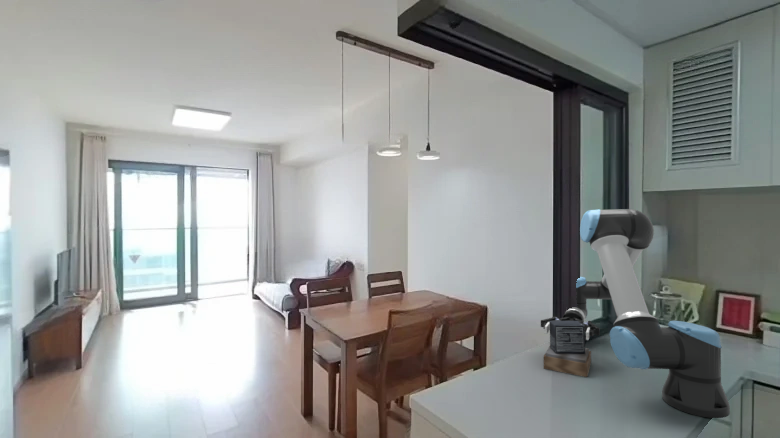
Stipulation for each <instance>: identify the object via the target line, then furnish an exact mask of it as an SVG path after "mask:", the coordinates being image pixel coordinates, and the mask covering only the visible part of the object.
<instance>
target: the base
mask: <svg viewBox="0 0 780 438" xmlns="http://www.w3.org/2000/svg"><path fill="white" fill-rule="evenodd" d="M591 364H592V350H590V348H587V347H585V354H559V353H555V352H554V351H553V350H552V349H551V348H550V345H549V346H548V348H547V350H546V351H545V352H544V355H543V370H544V369H545V370H549V371H553V372H560V373H565V374H568V375H575V376H578V377H579V376H580V377H584V378H588V376H589V372H590V368H591Z"/></svg>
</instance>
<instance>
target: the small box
mask: <svg viewBox="0 0 780 438" xmlns="http://www.w3.org/2000/svg"><path fill="white" fill-rule="evenodd" d="M549 322H550V330H549V346H550V348H551V349H552V350H553V351H554V352H555V353H559V354H585V348H586V344H585V343H586V335H585V332H584V325H583V324H582V323H580V322H579V321H549Z"/></svg>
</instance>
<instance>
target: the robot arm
mask: <svg viewBox="0 0 780 438" xmlns="http://www.w3.org/2000/svg"><path fill="white" fill-rule="evenodd" d="M579 226H580V227H579V231H580V232H579V235H580V239H581V240H582V241H583V242H584V243H589V244H590V245H589V246H590V248H591V250H592V251H594V252H596V253H597V255H598V258H599V262H600V265H601V268H602V271H603V276H602V278H601V279H600V280H599V281H597V280H596V281H594V280H593V281H592V280H591V281H589V280H587V278H586V277H585V276H580V278H578V279H577V281H576V282H577V283H576V292H577V295H576V296H577V298H576V300H577V304H578V305H577V306H578V307H572V308H569V309H568V310H567V309H566V311H564V314H563V315H562V317H560V318H558V317H557V316H556V315H555V316H552V317H550V318H548V317H547V318H545V319H541V320H540V328H543V329H544V334H545V335H547V334H548V333H550V322H549V321H579V322H580V323H582V324H583V325H584V333H585V341H589V339H590V337H594V335H596V336H600V335H601V334H600V332H601V330H600V327H598V326H597V325H595V324H594V323H593V322H592V321H591V320H588V321H586V318H587V317H588V308H587V300H611V301H612V305H613V309H614V311H615V315H616V319H615V321H614V322H613V327H612V328H611V329H610V330H609V338H610V339H609V342H610V346H611V349H612V351H613V353H614V355H615V356H616V358H617V359H618V361H619V362H620V363H621V364H622V365H624V366H625V367H628V368H631V369H641V370H647V369H650V370H651V369H655V370H668V375H667V377H666V378H665V381H664V383H663V385H662V389H661V395H662V396H661V398H662V400H663V401H664V402H665V403H666V404H668V405H669V406H671V407H673V408H674V409H676V410H678V411H681V412H683V413H687V414H690V415H694V416H698V417H702V418H707V419H709V418H711V419H724V418H726V417H728V416H730V414H731V410H730V409H731V405H730V402H729V400H728V396H727V394H726V393H725V390H724V387H723V385H722V372H721V371H722V356H721V354H722V343H721V336H720V334H719V333H718V332H717V331H716V330H714V329H712V328H710V327H707V326H704V325H700V324H696V323H692V322H688V321H681V320H670V321H668V323H667V327H665V326H661V325H660V323H659V320H658V318H657V317H655V316H654V315H652V314H650V312H649V309H648V306H647V304H646V301H645V298H644V295H643V292H642V290H641V289H642V288H641V287H640V283H639V280H638V278H637V275H636V272H635V269H634V265H635V264H636V263H637V260H638V259H639V257H640V255H641V254H642V252H643V250H646V249H648V248H649V246H650V244H651V243H652V241H653V239H654V234H655V233H654V231H655V230H654V226H653V223H652V221H651V219H650V218H649V217H648V216H647V215H646V214H645V213H644V212H642V211H640V210H637V209H634V208H624V209H623V208H622V209H621V208H620V209H619V208H615V209H599V208H598V209H588V210H587V211H585V213H583V215H582V218H581V221H580V225H579ZM585 321H586V322H585Z"/></svg>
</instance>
